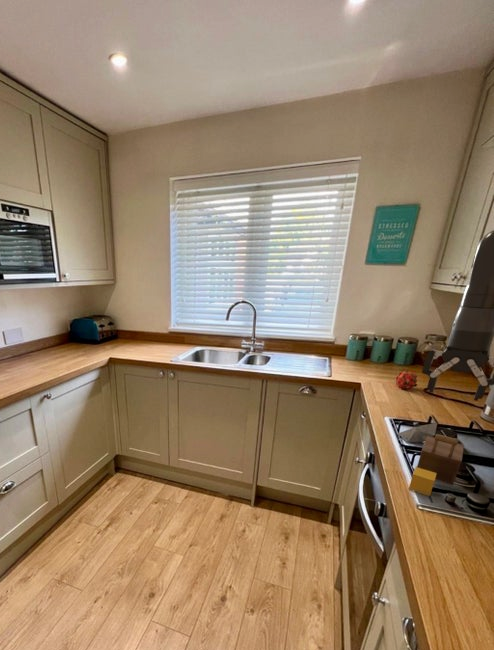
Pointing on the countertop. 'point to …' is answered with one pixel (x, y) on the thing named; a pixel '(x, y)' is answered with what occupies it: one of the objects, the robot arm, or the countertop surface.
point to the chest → (439, 468)
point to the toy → (422, 481)
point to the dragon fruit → (406, 380)
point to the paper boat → (419, 433)
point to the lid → (443, 448)
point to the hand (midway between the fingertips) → (452, 395)
